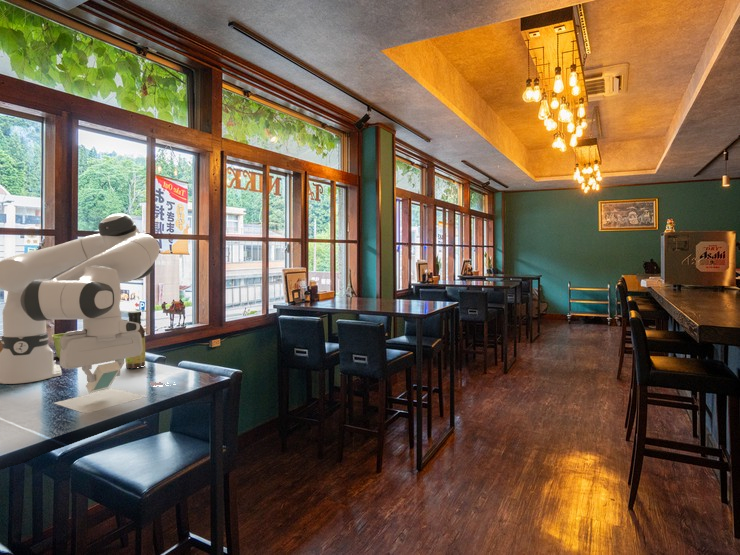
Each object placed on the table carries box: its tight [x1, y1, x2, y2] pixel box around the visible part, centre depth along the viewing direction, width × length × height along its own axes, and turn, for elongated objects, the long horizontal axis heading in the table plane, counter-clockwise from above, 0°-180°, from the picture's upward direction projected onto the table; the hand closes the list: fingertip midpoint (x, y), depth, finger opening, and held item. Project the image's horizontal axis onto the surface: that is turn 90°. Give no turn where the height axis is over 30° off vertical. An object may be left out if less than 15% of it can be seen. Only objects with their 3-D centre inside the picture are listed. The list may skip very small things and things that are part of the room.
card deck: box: [85, 361, 122, 394], centre depth 123 cm, size 2×5×9 cm
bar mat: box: [53, 387, 147, 415], centre depth 124 cm, size 16×16×1 cm
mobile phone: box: [149, 381, 175, 388], centre depth 144 cm, size 8×1×15 cm
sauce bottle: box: [124, 310, 146, 369], centre depth 162 cm, size 6×6×20 cm
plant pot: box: [51, 332, 66, 359], centre depth 181 cm, size 9×9×9 cm
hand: (104, 378), depth 123 cm, fingers closed on card deck, 5 cm apart
